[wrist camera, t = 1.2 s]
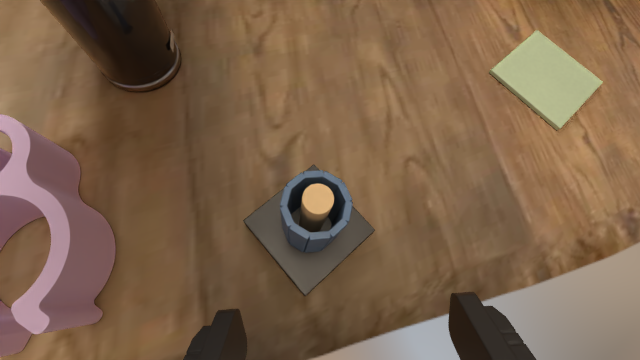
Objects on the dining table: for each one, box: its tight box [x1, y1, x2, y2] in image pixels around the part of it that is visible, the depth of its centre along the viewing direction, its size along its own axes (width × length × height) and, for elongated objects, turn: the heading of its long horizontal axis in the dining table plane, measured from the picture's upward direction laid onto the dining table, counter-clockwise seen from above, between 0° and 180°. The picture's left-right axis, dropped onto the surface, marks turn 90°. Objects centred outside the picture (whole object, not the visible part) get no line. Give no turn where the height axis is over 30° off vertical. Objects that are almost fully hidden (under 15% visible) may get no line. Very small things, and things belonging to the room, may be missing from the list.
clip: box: [0, 114, 116, 357], centre depth 28 cm, size 20×12×7 cm, turn 22°
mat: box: [489, 30, 603, 130], centre depth 44 cm, size 12×12×1 cm
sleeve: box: [280, 170, 353, 253], centre depth 28 cm, size 6×6×9 cm
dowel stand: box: [243, 165, 375, 296], centre depth 28 cm, size 10×10×12 cm
